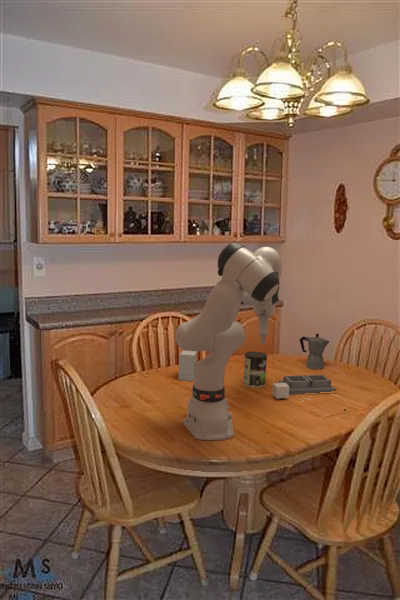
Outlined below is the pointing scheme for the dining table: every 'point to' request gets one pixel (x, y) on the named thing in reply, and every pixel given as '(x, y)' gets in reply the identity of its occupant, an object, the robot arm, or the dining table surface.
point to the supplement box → (187, 365)
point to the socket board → (308, 384)
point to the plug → (280, 390)
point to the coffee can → (255, 369)
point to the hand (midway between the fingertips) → (262, 340)
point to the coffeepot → (315, 351)
